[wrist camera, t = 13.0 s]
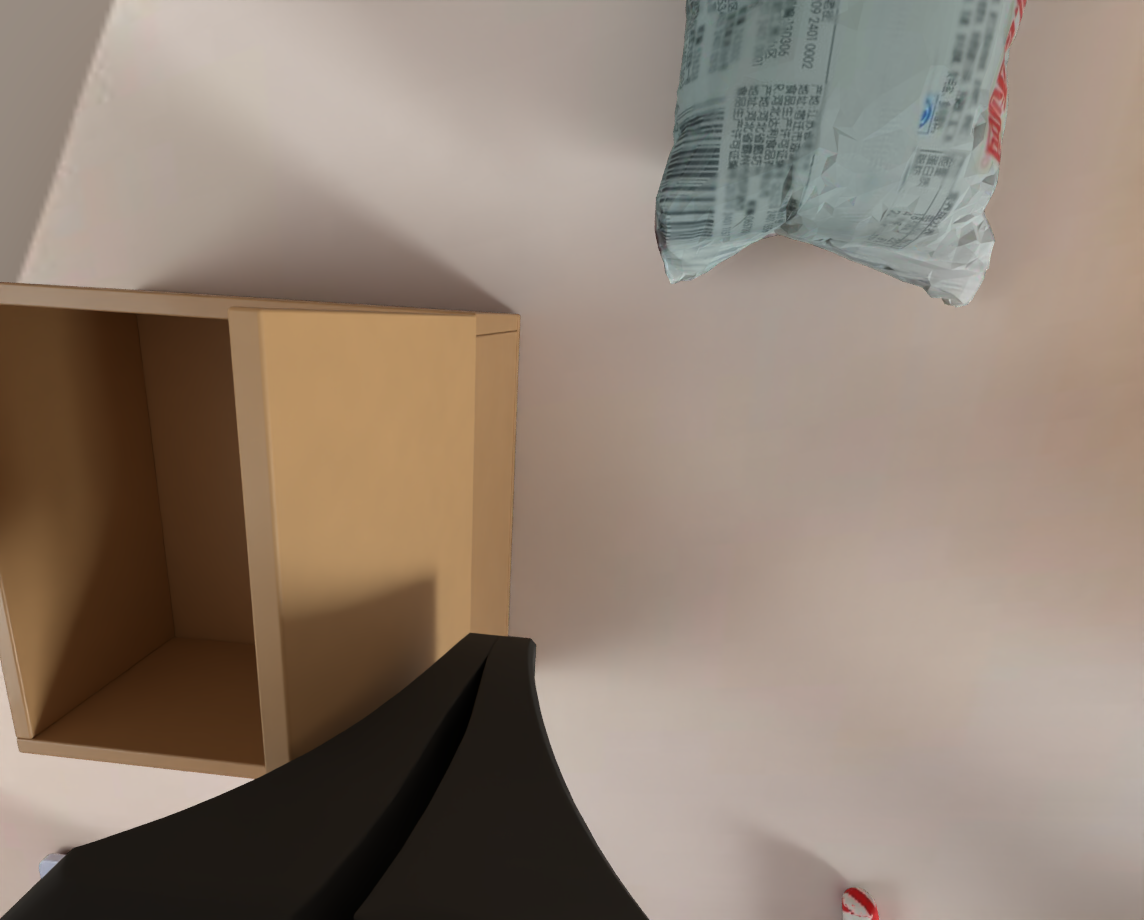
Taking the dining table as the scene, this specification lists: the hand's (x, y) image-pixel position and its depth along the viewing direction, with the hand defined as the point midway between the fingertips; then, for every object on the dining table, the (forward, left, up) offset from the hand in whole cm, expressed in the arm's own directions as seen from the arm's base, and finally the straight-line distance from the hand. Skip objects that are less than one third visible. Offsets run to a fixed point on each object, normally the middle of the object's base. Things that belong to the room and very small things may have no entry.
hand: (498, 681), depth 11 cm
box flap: (-2, 0, +1) cm, 2 cm away
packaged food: (+7, +14, -9) cm, 18 cm away
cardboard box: (-8, 0, -9) cm, 12 cm away
